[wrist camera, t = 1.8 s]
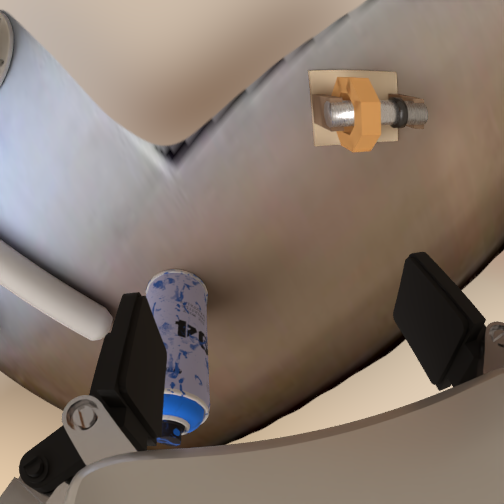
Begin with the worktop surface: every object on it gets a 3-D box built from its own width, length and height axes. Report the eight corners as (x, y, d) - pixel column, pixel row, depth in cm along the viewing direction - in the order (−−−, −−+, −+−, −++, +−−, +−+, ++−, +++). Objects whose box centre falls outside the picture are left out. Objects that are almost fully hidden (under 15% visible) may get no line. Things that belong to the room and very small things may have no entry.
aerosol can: (220, 297, 40) (234, 443, 23) (177, 326, 42) (172, 463, 25) (177, 257, 36) (162, 410, 19) (134, 292, 38) (103, 435, 21)
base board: (308, 70, 27) (327, 70, 22) (394, 72, 28) (422, 74, 23) (314, 145, 31) (332, 158, 27) (395, 140, 32) (422, 152, 27)
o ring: (329, 76, 26) (359, 78, 20) (346, 76, 26) (379, 78, 21) (333, 141, 30) (362, 158, 24) (350, 139, 30) (381, 156, 24)
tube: (118, 324, 36) (-40, 218, 25) (100, 354, 36) (-52, 254, 25) (119, 306, 41) (-22, 211, 30) (103, 334, 41) (-34, 244, 30)
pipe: (321, 96, 25) (333, 99, 23) (412, 96, 26) (429, 100, 23) (323, 127, 27) (335, 133, 24) (412, 124, 27) (429, 130, 25)
